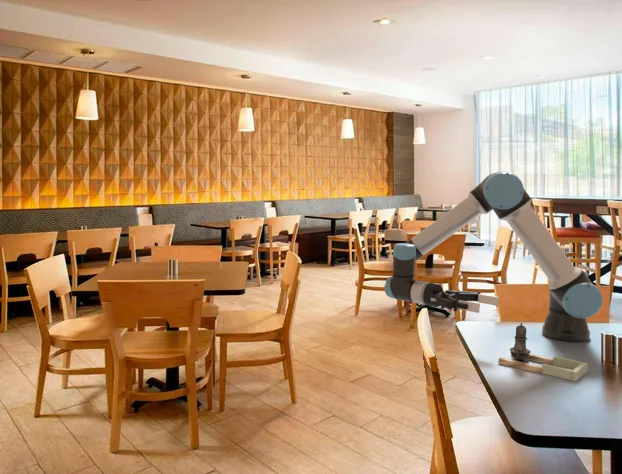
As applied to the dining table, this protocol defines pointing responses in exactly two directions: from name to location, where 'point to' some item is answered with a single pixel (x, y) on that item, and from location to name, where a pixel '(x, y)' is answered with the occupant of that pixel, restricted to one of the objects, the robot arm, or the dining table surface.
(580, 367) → the socket
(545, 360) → the channel
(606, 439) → the dining table surface
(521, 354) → the dark stone chess piece
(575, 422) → the dining table surface
